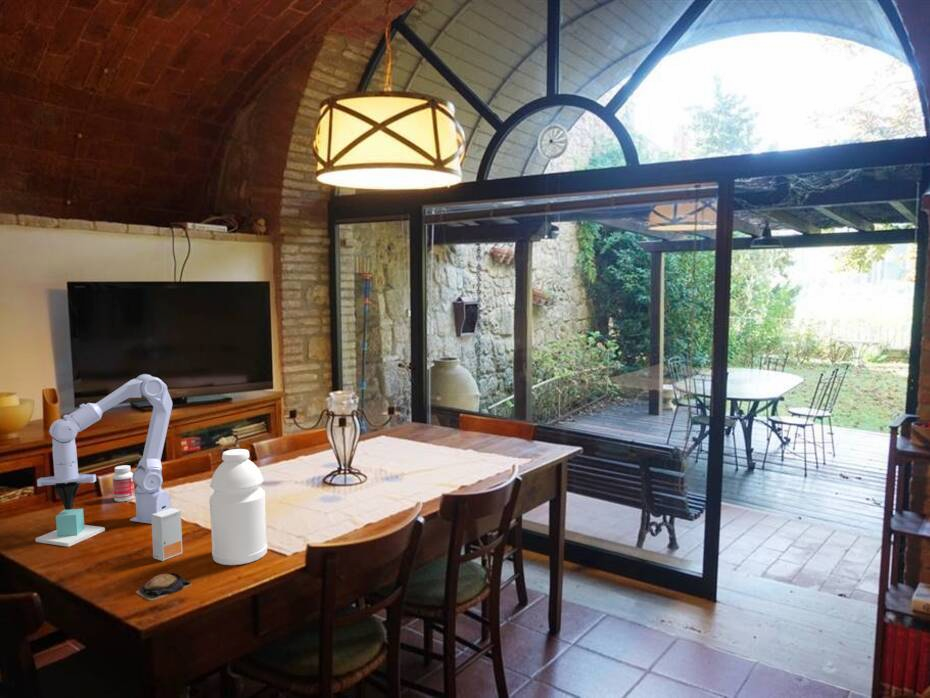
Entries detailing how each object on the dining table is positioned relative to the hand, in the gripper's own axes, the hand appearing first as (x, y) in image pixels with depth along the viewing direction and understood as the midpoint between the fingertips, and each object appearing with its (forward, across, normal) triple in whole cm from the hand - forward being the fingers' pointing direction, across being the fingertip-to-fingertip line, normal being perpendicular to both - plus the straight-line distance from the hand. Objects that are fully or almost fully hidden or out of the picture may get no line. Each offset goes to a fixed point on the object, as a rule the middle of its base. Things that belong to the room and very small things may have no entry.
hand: (69, 508), depth 185 cm
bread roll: (+9, -35, +40) cm, 54 cm away
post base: (+8, 0, 0) cm, 8 cm away
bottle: (+8, -50, +24) cm, 56 cm away
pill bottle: (+8, -5, -32) cm, 33 cm away
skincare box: (+8, -31, +20) cm, 38 cm away
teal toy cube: (+7, 0, 0) cm, 7 cm away
